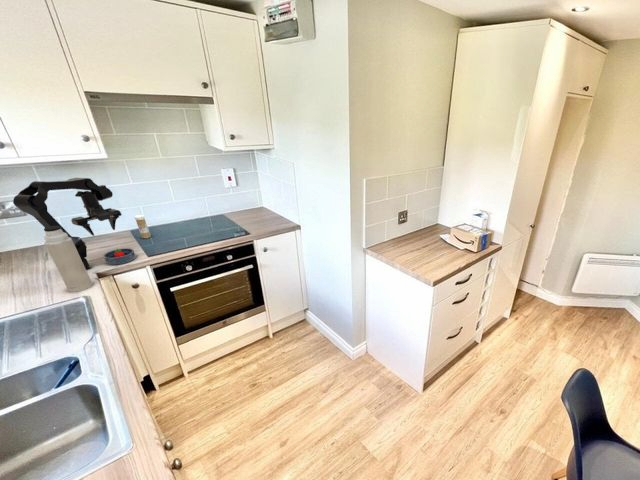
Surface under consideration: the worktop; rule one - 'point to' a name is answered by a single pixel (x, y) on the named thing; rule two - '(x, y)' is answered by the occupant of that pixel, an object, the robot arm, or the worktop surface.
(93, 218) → the robot arm
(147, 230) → the sprinkles bottle
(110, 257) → the bowl
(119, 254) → the strawberry
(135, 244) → the worktop surface
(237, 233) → the worktop surface
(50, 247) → the thermos bottle
